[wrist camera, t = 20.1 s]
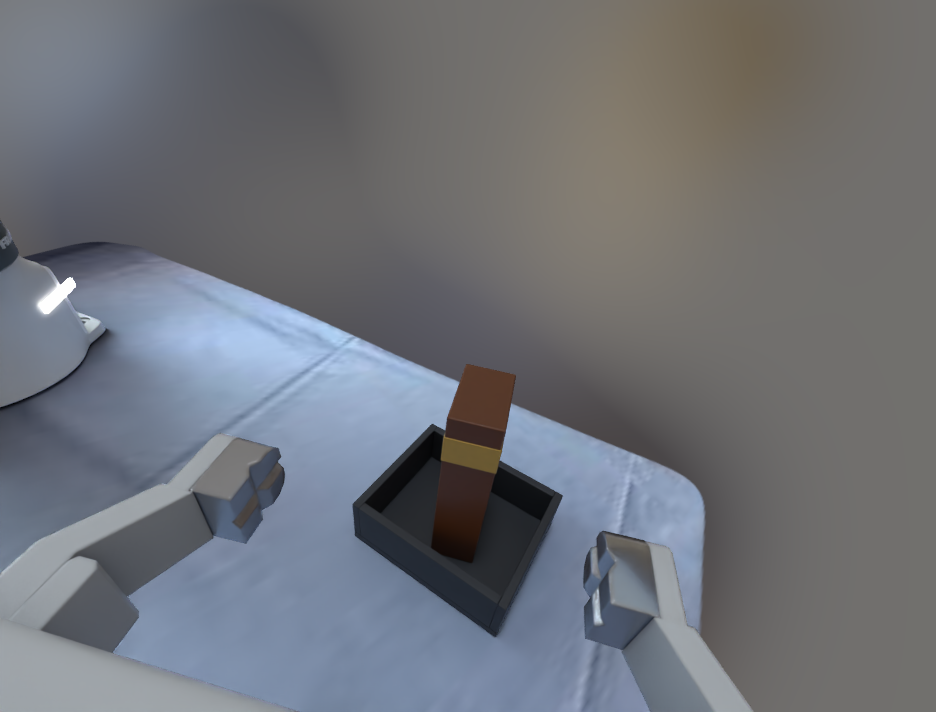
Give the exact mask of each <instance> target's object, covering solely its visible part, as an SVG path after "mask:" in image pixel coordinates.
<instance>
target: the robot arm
mask: <svg viewBox="0 0 936 712" xmlns="http://www.w3.org/2000/svg"><path fill="white" fill-rule="evenodd" d="M18 253H19V252H18V249H17V247H16V246H15V244H14V242H13V240H12V236H11V234H10V232H9V231H8V229H7V227H6V226H5V225H3V224H2V222H1V220H0V407H3V406H6V405H9V404H12V403H14V402H17V401H20V400H22V399H25V398H27V397H29V396H32V395H34V394H36V393H38V392H40V391H42V390H44V389H46V388H48V387H50V386H52V385H53V384H55V383H57V382H58V381H60V380H61V379H63V378H64V377H66V376H67V375H68V374H69V373H71V372H72V371H73V370H74V369H75V368H76V367H77V366H78V365H79V364H80V363H81V362H82V360H83V359H84V357H85V355H86V353H87V350H88V348H89V346H90V344H91V343H92V342H93V341H95V340H96V339H97V338H98V337H99V336H101V335H102V334H103V333H104V331H105V327H104V325H103V324H102V322H101V321H100V320H98V319H95V318H92V317H89V316H87V315H84V314H81V313H78V312H76V311H75V309H74V307H73V306H72V304H71V302H70V301H69V299H68V297H67V295H68V294H69V293H70V292H71V291H72V290H73V289H74V288H75V287H76V285H75V283H74V281H73V279H72V278H68V279H67V280H66V281H65V282H64V283H63V284H62V285H61V286H60V284H59V282H58V281H57V279H56V277H55V276H54V274H53V273H52V271H51V270H50V269H49V268H48V267H44V266H41V265H40V264H38V263H36V262H32V261H29V260H26V259H24V258H22V257H20V256H19V255H18ZM280 458H281V455H280V452H279V448H276V447H272V446H268V445H264V444H260V443H257V442H253V441H249V440H245V439H242V438H239V437H235V436H231V435H227V434H223V433H219V434H217V435H215V436H213V437H212V438H211V439H210V440H209V441H208V442H207V443H206V444H205V445H204V446H203V447H202V448H201V449H200V450H199V451H198V452H197V454H196V455H195V456H194V457H193V458H192V459H191V460H190V461H189V462H188V463H187V464H186V465H185V466H184V467H183V468H182V469H181V470H180V471H179V472H178V473H177V474H176V475H175V476H174V478H173V479H172V480H171V481H170V482H169V483H168V484H167V485H166V484H159V485H156V486H154V487H152V488H150V489H148V490H146V491H143V492H141V493H139V494H137V495H135V496H133V497H130V498H128V499H126V500H124V501H122V502H120V503H117V504H115V505H113V506H111V507H109V508H107V509H104V510H102V511H100V512H98V513H96V514H94V515H91V516H89V517H87V518H85V519H83V520H81V521H78V522H76V523H74V524H72V525H70V526H68V527H65V528H63V529H61V530H59V531H57V532H55V533H53V534H50V535H48V536H46V537H44V538H42V539H40V540H37V541H36V542H35V543H34V544H33V545H31V546H30V547H29V548H28V549H27V550H26V551H25V552H24V553H23V554H21V555H20V556H19V557H18V558H17V559H16V560H15V561H14V562H12V563H11V564H10V565H9V566H8V567H7V568H6V569H5V570H4V571H2V572H1V573H0V712H299V711H296V710H292V709H289V708H286V707H283V706H280V705H277V704H273V703H270V702H267V701H264V700H261V699H257V698H254V697H251V696H248V695H245V694H241V693H238V692H235V691H232V690H229V689H226V688H222V687H219V686H216V685H213V684H210V683H206V682H203V681H200V680H197V679H194V678H191V677H187V676H184V675H181V674H178V673H175V672H171V671H168V670H165V669H162V668H159V667H155V666H152V665H149V664H146V663H143V662H140V661H136V660H133V659H130V658H127V657H124V656H120V655H117V654H114V653H112V652H113V651H114V650H115V648H116V647H117V646H118V644H119V643H120V642H121V640H122V639H123V638H124V636H125V635H126V634H127V632H128V631H129V630H130V628H131V627H132V626H133V625H134V623H135V622H136V621H137V619H138V618H139V611H138V609H137V608H136V607H135V606H134V605H133V603H132V602H131V601H130V600H129V599H128V598H127V596H129V595H130V594H132V593H133V592H135V591H136V590H138V589H139V588H141V587H142V586H143V585H145V584H146V583H148V582H149V581H151V580H152V579H154V578H155V577H157V576H158V575H160V574H161V573H163V572H164V571H166V570H167V569H169V568H170V567H171V566H173V565H174V564H176V563H177V562H179V561H180V560H182V559H183V558H185V557H186V556H188V555H189V554H191V553H192V552H194V551H195V550H197V549H198V548H199V547H201V546H202V545H204V544H205V543H207V542H208V541H210V540H211V539H213V536H217V537H221V538H225V539H229V540H233V541H237V542H241V543H245V544H246V543H247V542H248V540H249V539H250V537H251V536H252V535H253V533H254V532H255V530H256V529H257V527H258V526H259V524H260V523H261V521H262V520H263V515H262V510H263V509H265V508H267V507H269V506H270V505H272V504H273V503H274V502H275V500H276V499H277V497H278V496H279V494H280V492H281V489H282V487H283V484H284V479H285V472H284V468H283V467H282V466H281V465H280V464H279V463H278V460H279V459H280ZM584 589H585V590H586V592H587V594H588V595H589V597H590V599H589V600H588V602H587V603H586V605H585V606H584V624H585V639H589V640H592V641H595V642H598V643H602V644H605V645H608V646H611V647H615V648H618V649H621V650H623V651H622V654H623V656H624V658H625V660H626V662H627V664H628V666H629V668H630V670H631V672H632V674H633V676H634V678H635V681H636V683H637V685H638V687H639V689H640V691H641V693H642V695H643V697H644V699H645V701H646V703H647V705H648V707H649V710H650V712H754V711H753V710H752V708H751V707H750V706H749V704H748V703H747V702H746V700H745V699H744V697H743V696H742V694H741V693H740V691H739V690H738V689H737V687H736V686H735V684H734V683H733V682H732V680H731V679H730V678H729V676H728V674H727V673H726V672H725V670H724V669H723V667H722V666H721V665H720V663H719V662H718V660H717V659H716V657H715V656H714V655H713V653H712V652H711V650H710V649H709V648H708V646H707V645H706V643H705V642H704V640H703V639H702V638H701V636H700V635H699V633H698V632H697V631H696V629H695V628H693V627H690V626H688V625H687V620H686V616H685V611H684V606H683V601H682V597H681V592H680V587H679V582H678V578H677V573H676V568H675V563H674V559H673V554H672V552H671V550H670V549H669V548H668V547H666V546H663V545H658V544H654V543H650V542H646V541H644V540H640V539H636V538H632V537H628V536H623V535H619V534H615V533H611V532H606V531H602V532H600V533H599V535H598V536H597V546H594V547H592V548H590V550H589V552H588V554H587V557H586V561H585V565H584Z"/></svg>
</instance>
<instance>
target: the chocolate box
mask: <svg viewBox="0 0 936 712" xmlns="http://www.w3.org/2000/svg"><path fill="white" fill-rule="evenodd" d="M515 378H516V375H514V374H510V373H505V372H501V371H496V370H492V369H487V368H483V367H478V366H474V365H469V364H466V366H465V369H464V372H463V374H462V377H461V380H460V383H459V386H458V389H457V391H456V394H455V397H454V400H453V403H452V406H451V408H450V411H449V414H448V417H447V423H446V431H445V435H444V438H443V446H442V454H441V460H442V462H441V470H440V478H439V486H438V494H437V502H436V510H435V518H434V526H433V533H432V541H431V548H432V549H433V550H435V551H436V552H438V553H439V554H441V555H444V556H448V557H452V558H455V559H459V560H463V561H466V562H470V563H472V562H473V559H474V555H475V551H476V547H477V543H478V539H479V535H480V531H481V527H482V523H483V519H484V516H485V512H486V508H487V504H488V500H489V496H490V492H491V488H492V484H493V480H494V476H495V474H496V472H497V468H498V464H499V460H500V457H501V453H502V448H503V442H504V437H505V433H506V428H507V422H508V417H509V411H510V406H511V400H512V395H513V389H514V384H515Z"/></svg>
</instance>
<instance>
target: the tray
mask: <svg viewBox="0 0 936 712" xmlns="http://www.w3.org/2000/svg"><path fill="white" fill-rule="evenodd" d="M444 435H445V430H443V429H441V428H439V427H437V426H436V425H434V424H431V425H430V426H429V427H428V428H427V429H426V431H425V432H424V433H423V434H422V435H421V436H420V437H419V438H418V439H417V440H416V441H415V442H414V443H413V444H412V445H411V446H410V447H409V448H408V449H407V450H406V451H405V452H404V453H403V454H402V455H401V456H400V457H399V458H398V459H397V460H396V461H395V462H394V463H393V464H392V465H391V466H390V467H389V468H388V469H387V470H386V471H385V472H384V473H383V474H382V475H381V476H380V477H379V478H378V479H377V480H376V481H375V482H374V483H373V484H372V485H371V486H370V487H369V488H368V489H367V490H366V491H365V492H364V493H363V494H362V495H361V496H360V497H359V498H358V499H357V500H356V501H355V502H354V503H353V515H354V528H355V536H357V537H358V538H359V539H361V540H362V541H363V542H365V543H366V544H368V545H369V546H370V547H372V548H373V549H375V550H376V551H377V552H379V553H380V554H381V555H383V556H384V557H386V558H387V559H388V560H390V561H391V562H392V563H394V564H395V565H397V566H398V567H399V568H401V569H402V570H404V571H405V572H406V573H408V574H409V575H410V576H412V577H413V578H415V579H416V580H417V581H419V582H420V583H422V584H423V585H424V586H426V587H427V588H428V589H430V590H431V591H433V592H434V593H435V594H437V595H438V596H439V597H441V598H442V599H444V600H445V601H446V602H448V603H449V604H451V605H452V606H453V607H455V608H456V609H457V610H459V611H460V612H462V613H463V614H464V615H466V616H467V617H468V618H470V619H471V620H473V621H474V622H475V623H477V624H478V625H480V626H481V627H482V628H484V629H485V630H486V631H488V632H489V633H491V634H492V635H493V636H495V637H496V635H497V633H498V631H499V629H500V627H501V625H502V623H503V621H504V619H505V617H506V615H507V613H508V611H509V609H510V607H511V605H512V603H513V600H514V598H515V596H516V594H517V592H518V590H519V588H520V586H521V584H522V582H523V580H524V578H525V576H526V574H527V572H528V570H529V568H530V566H531V564H532V562H533V560H534V557H535V555H536V553H537V551H538V549H539V547H540V545H541V543H542V541H543V539H544V537H545V535H546V533H547V531H548V529H549V527H550V525H551V522H552V520H553V518H554V515H555V513H556V511H557V508H558V506H559V504H560V502H561V499H562V497H563V495H561V494H559V493H558V492H555V491H554V490H552V489H550V488H549V487H547V486H545V485H543V484H541V483H539V482H538V481H536V480H534V479H532V478H530V477H528V476H527V475H525V474H523V473H521V472H519V471H518V470H516V469H514V468H512V467H510V466H508V465H507V464H505V463H503V462H501V461H499V464H498V468H497V472H496V474H495V476H494V480H493V484H492V488H491V492H490V496H489V500H488V504H487V508H486V512H485V516H484V519H483V523H482V527H481V531H480V535H479V539H478V543H477V547H476V551H475V555H474V559H473V562H472V563H470V562H466V561H463V560H459V559H455V558H452V557H448V556H444V555H441V554H439V553H438V552H436V551H435V550H433V549H432V548H431V541H432V533H433V526H434V518H435V510H436V502H437V494H438V486H439V478H440V470H441V462H442V460H441V454H442V446H443V438H444Z"/></svg>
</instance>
